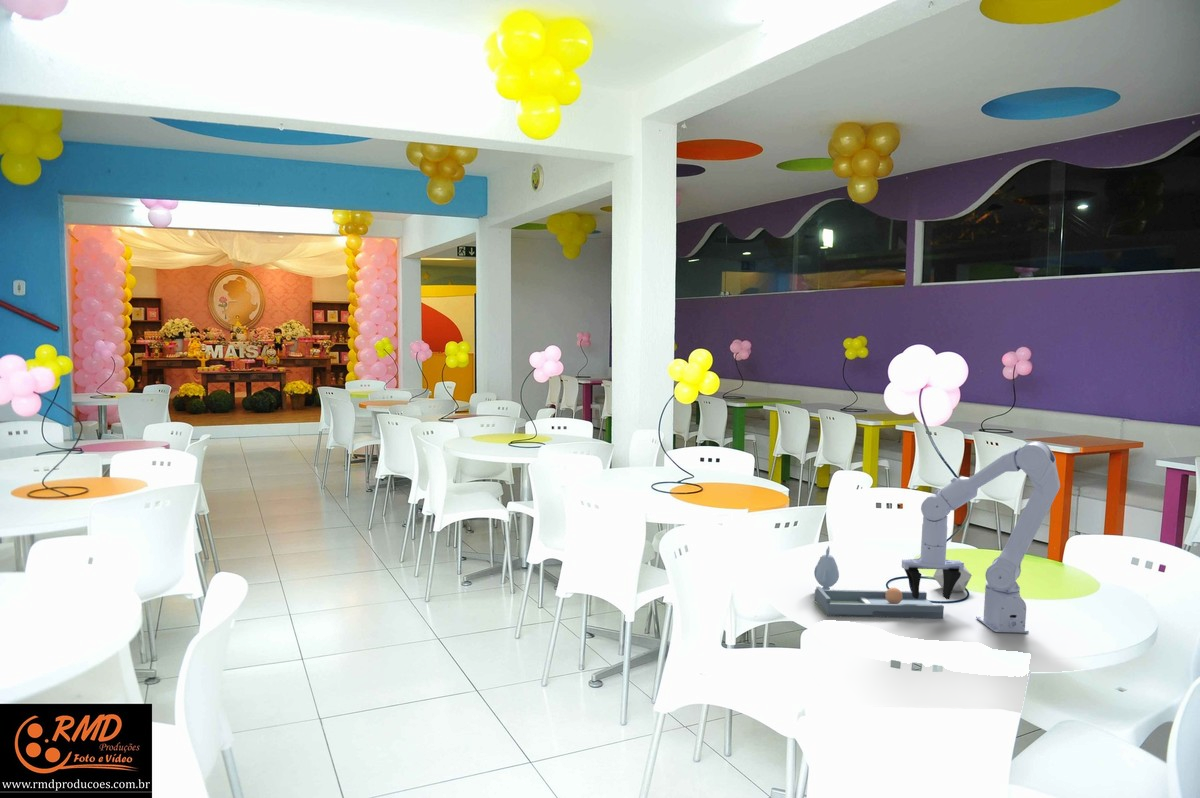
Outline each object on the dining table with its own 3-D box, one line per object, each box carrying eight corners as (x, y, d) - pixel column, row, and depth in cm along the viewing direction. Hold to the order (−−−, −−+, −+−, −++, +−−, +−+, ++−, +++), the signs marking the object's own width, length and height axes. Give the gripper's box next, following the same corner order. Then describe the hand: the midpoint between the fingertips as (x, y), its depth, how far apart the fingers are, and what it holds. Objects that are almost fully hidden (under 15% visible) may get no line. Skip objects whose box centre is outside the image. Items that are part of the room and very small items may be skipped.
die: (966, 599, 210) (981, 567, 212) (936, 581, 211) (952, 550, 213) (952, 600, 217) (967, 570, 220) (923, 583, 219) (939, 553, 221)
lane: (943, 618, 193) (944, 602, 193) (826, 616, 193) (827, 599, 193) (924, 603, 204) (925, 587, 204) (814, 601, 204) (815, 585, 204)
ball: (904, 606, 196) (905, 590, 196) (888, 606, 196) (889, 590, 196) (898, 601, 200) (899, 585, 200) (882, 601, 200) (883, 585, 200)
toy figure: (816, 584, 217) (818, 541, 216) (840, 588, 215) (842, 544, 214) (810, 595, 208) (812, 550, 207) (835, 599, 205) (837, 553, 204)
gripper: (956, 540, 201) (952, 593, 202) (898, 538, 201) (895, 591, 202) (969, 547, 194) (965, 602, 195) (909, 546, 194) (906, 601, 195)
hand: (930, 597), depth 198 cm, fingers open, 7 cm apart
